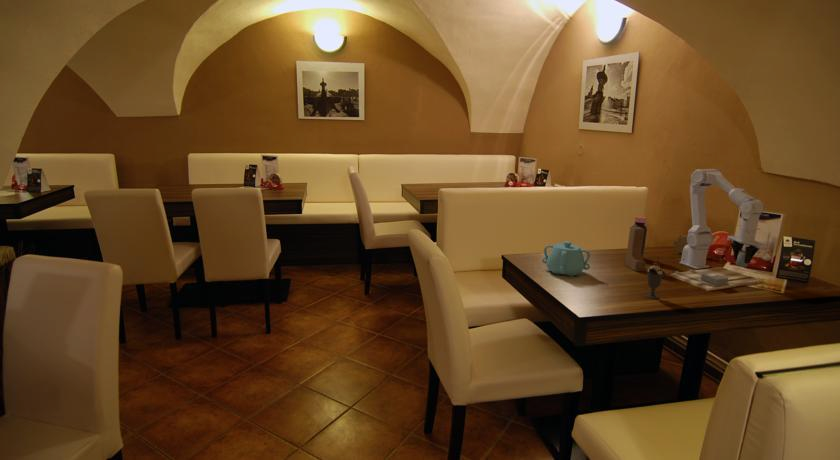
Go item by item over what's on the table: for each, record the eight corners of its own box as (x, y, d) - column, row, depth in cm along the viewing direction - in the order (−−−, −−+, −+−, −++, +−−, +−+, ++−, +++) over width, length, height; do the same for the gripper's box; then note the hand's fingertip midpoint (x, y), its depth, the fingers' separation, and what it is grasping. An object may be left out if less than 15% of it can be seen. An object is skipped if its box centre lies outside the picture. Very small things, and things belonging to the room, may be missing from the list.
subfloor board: (670, 275, 206) (671, 272, 206) (720, 269, 217) (721, 265, 216) (708, 290, 190) (708, 286, 189) (760, 282, 200) (761, 278, 200)
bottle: (628, 259, 228) (633, 218, 223) (626, 255, 235) (632, 215, 230) (643, 260, 226) (649, 219, 221) (641, 256, 233) (647, 216, 228)
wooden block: (644, 271, 211) (650, 231, 207) (635, 271, 211) (640, 231, 206) (634, 264, 220) (639, 226, 215) (624, 265, 220) (629, 226, 215)
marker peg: (733, 264, 201) (735, 250, 200) (741, 263, 202) (743, 249, 201) (741, 267, 197) (744, 253, 196) (749, 266, 198) (752, 252, 197)
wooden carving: (708, 257, 235) (711, 237, 232) (707, 259, 231) (710, 239, 229) (670, 250, 244) (673, 231, 241) (669, 253, 240) (672, 233, 238)
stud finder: (700, 280, 197) (701, 272, 196) (711, 279, 199) (712, 271, 198) (716, 286, 191) (717, 278, 190) (726, 285, 193) (728, 276, 192)
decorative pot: (572, 265, 217) (574, 236, 214) (592, 277, 202) (595, 246, 199) (538, 267, 214) (541, 237, 211) (556, 279, 199) (559, 247, 195)
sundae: (655, 293, 186) (661, 256, 182) (665, 300, 179) (671, 262, 175) (639, 293, 185) (644, 256, 182) (647, 300, 179) (653, 261, 175)
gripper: (724, 226, 201) (718, 257, 204) (759, 234, 188) (752, 267, 191) (736, 225, 203) (730, 255, 207) (771, 233, 190) (764, 266, 194)
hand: (741, 261), depth 199 cm, fingers closed on marker peg, 4 cm apart
